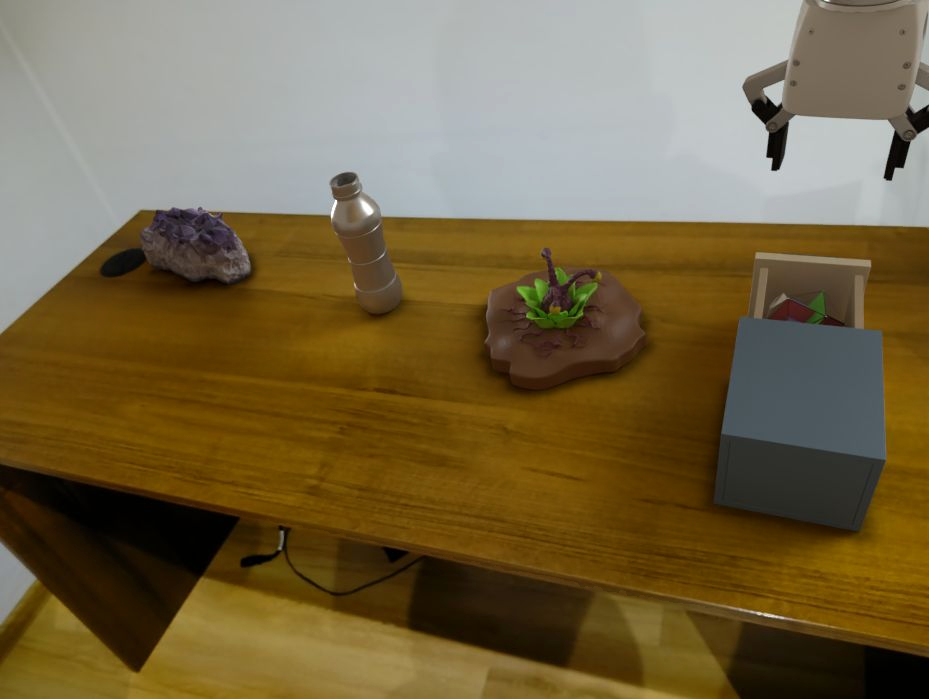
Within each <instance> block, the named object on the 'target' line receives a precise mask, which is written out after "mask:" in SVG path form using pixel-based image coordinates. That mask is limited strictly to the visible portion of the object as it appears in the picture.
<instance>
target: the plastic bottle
mask: <svg viewBox="0 0 929 699" xmlns="http://www.w3.org/2000/svg"><path fill="white" fill-rule="evenodd" d="M328 184H329V187H330V190H331V196H332V198H333V199H334V200H335V201H334V204H333V206H332V209H331V213H330V223H331V226H332V229H333V231H334V233H335V235H336V236H337V238H338V241H339V243H340V244H341V246H342V248H343V251H344V253H345V256H346V258H347V261H348V263H349V265H350V269H351V274H352V279H353V285H354V292H355V298H356V301H357V302H358V304H359V306H360V307H361V309H363V310H364V311H365V312H368V313H369V314H373V315H381V314H382V315H383V314H386V313H389V312H390V311H392V310H394V309H396V307H398V306H399V304H400V302H401V300H402V298H403V295H404V294H403V293H404V292H403V291H404V290H403V283H402V279H401V278H400V276H399V274H398V272H397V271H396V269H395V267H394V265H393V264H394V263H393V261H392V259H391V257H390V254H389V251H388V247H387V244H386V239H385V235H384V227H383V219H382V218H383V217H382V213H381V208H380V206H379V204H378V203H377V201H376V200H375V199H374V198H372V197H371V196H370V195H368V194H367V193H365V192H364V191H363V188H364V187H363V185H362V182H361V181H360V177H359V175H358V174H357V172H354V171H345V172H341V173H338V174H336V175H334V176H333V177H332V178H331V179H330V180H329V182H328Z"/></svg>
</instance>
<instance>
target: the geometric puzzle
mask: <svg viewBox="0 0 929 699" xmlns="http://www.w3.org/2000/svg"><path fill="white" fill-rule="evenodd" d="M818 292H821V291H818ZM812 293H813V292H811V294H812ZM815 293H817V292H815ZM824 293H825V292H824V290H823V292H822V293H821V294H820V295H819V296H818V297H817V298H816V299H815V300H814V301H813V302H812V303H811V304H810V305H809V306H807V305H805V304H803V303H800V302H798V301H796V300H794V299H792V298H793V297H792V298H789V297H787V296H786V295H785V293H783V294H781V295H780V297H779V298H778V297H777V298H778V299H777V298H776V299H777V300H776V299H775V300H776V301H775V300H774V301H773V302H772V303H771V305H770V306H769V308H770V309H769V311H768V314H769V312H770V310H771V308H773V307H775V306H776V305H778V304H780V303H781V302H783V301H784V300H785V302H784V303H783V304H782V305H781V306H780V307H779V308H778V309H777V310H776V311H775V310H774V311H775V312H774V311H773V312H774V313H773V314H772V316H771V315H770V316H771V317H770V318H769V319H770V320H780V321H790V322H799V323H809V324H819V325H829V326H839V327H843V326H844V325H846V324H845V323H842V322H840V321H838V320H836V319H834V318H832V317H830V316H828V315H826V308H825V298H824ZM804 294H806V293H804ZM797 295H799V294H797ZM806 295H807V294H806ZM790 296H791V295H790ZM801 296H803V295H801ZM826 296H827V295H826ZM796 297H798V296H796ZM828 299H829V298H828ZM831 304H832V303H831ZM778 306H779V305H778ZM778 306H777V307H778ZM833 307H834V306H833ZM835 310H836V309H835ZM837 313H838V312H837ZM768 314H767V316H768ZM839 316H840V315H839ZM766 318H767V317H766ZM842 321H843V320H842Z"/></svg>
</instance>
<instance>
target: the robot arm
mask: <svg viewBox="0 0 929 699" xmlns="http://www.w3.org/2000/svg"><path fill="white" fill-rule="evenodd" d="M796 19H797V20H796V23H795V27H794V32H793V35H792V39H791V43H790V49H789V54H788V59H786V60H783V61H781V62H779V63H777V64H774V65H772V66H770V67H768V68H764V69H763V70H761V71H758V72H755V73H753V74H751V75H748V76H747V77H746V78H745V79H744V82H743V83H742V87H741V88H742V91H743V93H744V95H745V97H746V99H747V101H748V103H749V105H750V106H751V108H750V111H751V112H752V113H753V114H754V115H755V116H756V117H757V118H758V119H759V120H760V121H761V122H762V124H764V126H765V130H766V132H768V136H767V146H766V154H765V158H766V159H772V160H771V167H770V171H771V172H777V171H780V169H781V168H782V164H783V161H784V158H785V156H786V149H787V141H788V135H789V134H788V133H789V126H790V121H791V120H792V119H793V118H794V117H795V116H799V117H810V118H826V119H827V118H828V119H846V120H864V121H865V120H867V121H868V120H869V121H884V120H885V121H888V123H889V124H890V125H891V127H892V128H893V129H894V130H893V134H892V139H891V143H890V147H889V151H888V155H887V159H886V164H885V169H884V173H883V178H882V179H884V180H885V182H886V181H888V182H892V181H893V178H894V174H895V169H904V168H905V165H906V162H907V157H908V154H909V150H910V147H911V142H912V141H914V140H915V139H916V138H917V136H918V135H919V134H921V133H922V132H924V131H926V130H928V129H929V103H928V104H927V105H925V106H923V107H922V108H921V109H918V110H917V111H915V109H914V108H913V107H912V105H911V100H912V97H913V94H914V90H915V86H916V85H917V86H918V87H921V88H923V89H924V90H926V91H928V92H929V65H928V64H926V63H924V62H922V61H921V59H922V54H923V48H924V44H925V38H926V33H927V27H928V20H929V0H802V2H801V5H800V9H799V12H798V16H797V18H796ZM782 81H783V87H782V93H781V94H782V95H781V102H780V103H778V104H777V105H776V104H775V103H774V102H773V101H772V100H771V99H770V97H769V96H768V95H766V94H765V90H764V89H766V88H768V87H770V86H773V85H775V84H778V83H780V82H782Z"/></svg>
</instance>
